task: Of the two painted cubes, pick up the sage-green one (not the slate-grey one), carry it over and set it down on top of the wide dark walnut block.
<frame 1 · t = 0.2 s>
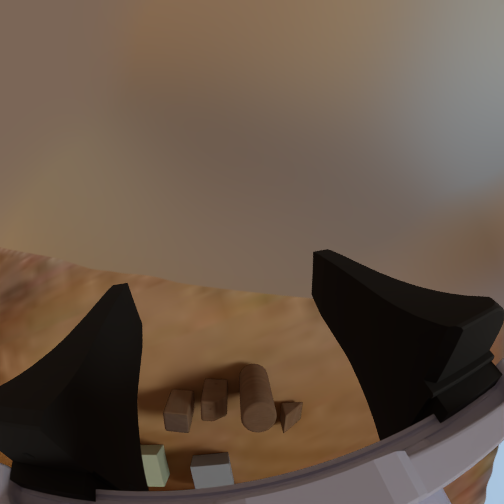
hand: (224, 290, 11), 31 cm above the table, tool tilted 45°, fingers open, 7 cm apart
sage cube: (150, 459, 33), on the table
slate cube: (213, 468, 34), on the table
wooden block set: (236, 397, 38), on the table
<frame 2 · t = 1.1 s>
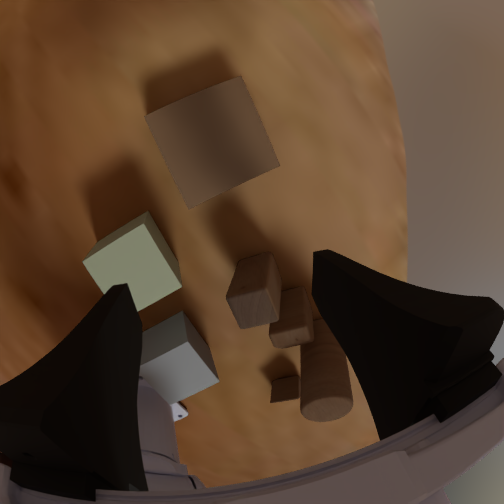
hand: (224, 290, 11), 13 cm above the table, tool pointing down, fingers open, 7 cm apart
sage cube: (137, 252, 23), on the table
slate cube: (173, 342, 26), on the table
walnut base: (206, 143, 22), on the table
wooden block set: (285, 325, 30), on the table
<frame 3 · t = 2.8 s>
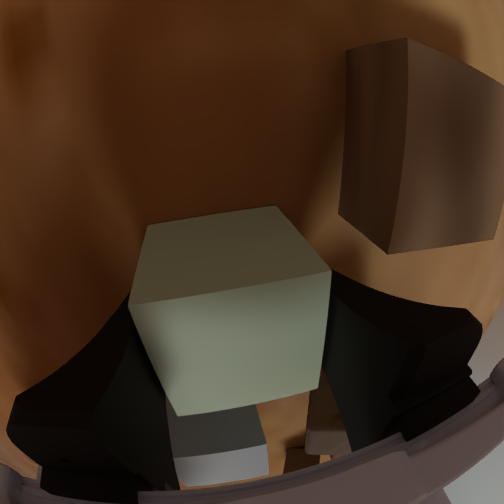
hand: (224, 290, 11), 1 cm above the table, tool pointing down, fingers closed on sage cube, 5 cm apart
sage cube: (219, 270, 12), on the table, touching gripper
slate cube: (208, 398, 16), on the table
walnut base: (405, 139, 12), on the table
wooden block set: (329, 403, 20), on the table
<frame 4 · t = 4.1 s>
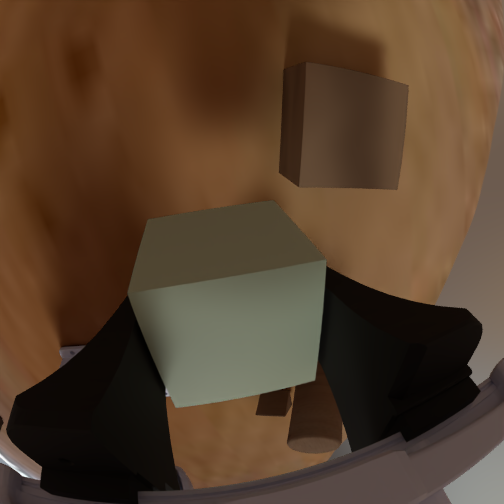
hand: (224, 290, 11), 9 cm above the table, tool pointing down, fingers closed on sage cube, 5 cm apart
sage cube: (218, 264, 13), point 8 cm above the table, touching gripper
walnut base: (329, 124, 19), on the table
wooden block set: (286, 342, 27), on the table, touching slate cube
when the fingers open (7 cm above the table, at t = 5.7 s): sage cube drops 1 cm, point 4 cm above the table.
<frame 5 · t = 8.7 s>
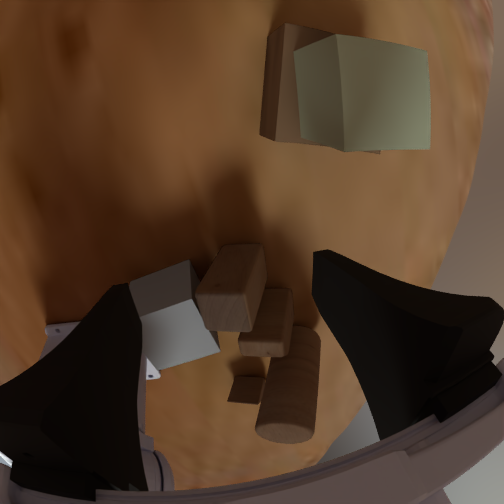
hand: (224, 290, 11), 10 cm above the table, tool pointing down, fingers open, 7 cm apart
sage cube: (338, 93, 15), point 4 cm above the table
slate cube: (172, 295, 23), on the table
walnut base: (311, 91, 18), on the table
wooden block set: (260, 324, 26), on the table
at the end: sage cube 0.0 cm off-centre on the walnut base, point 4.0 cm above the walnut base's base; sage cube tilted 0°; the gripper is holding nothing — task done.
